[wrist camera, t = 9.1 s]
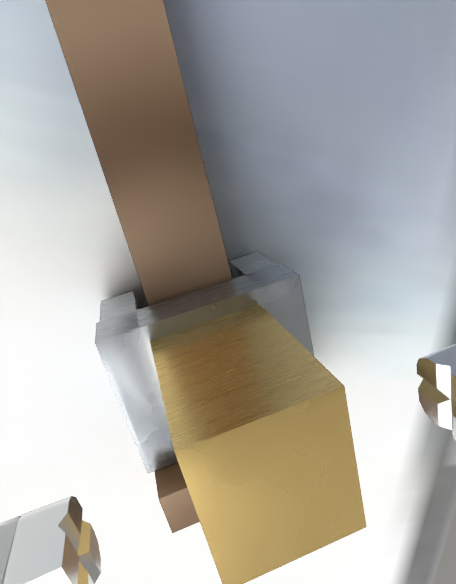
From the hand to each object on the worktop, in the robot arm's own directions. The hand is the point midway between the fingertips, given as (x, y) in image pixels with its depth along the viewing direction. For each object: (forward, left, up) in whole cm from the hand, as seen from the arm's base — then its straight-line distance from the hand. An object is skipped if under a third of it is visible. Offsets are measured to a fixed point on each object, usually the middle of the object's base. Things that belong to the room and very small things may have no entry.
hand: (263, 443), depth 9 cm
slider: (+1, 0, -8) cm, 8 cm away
